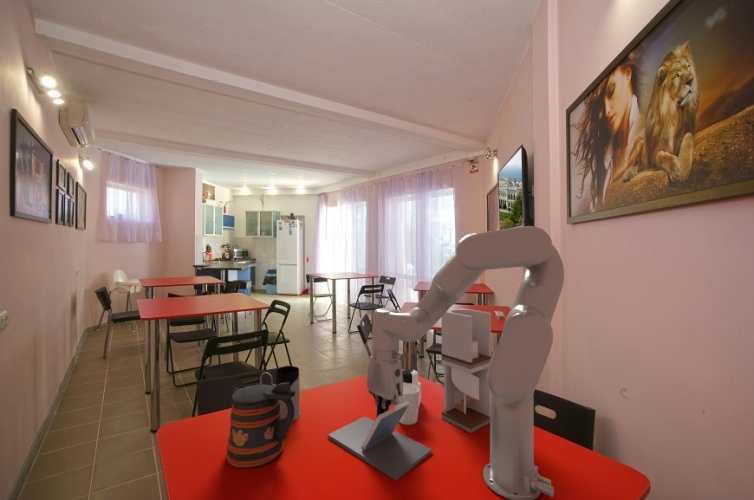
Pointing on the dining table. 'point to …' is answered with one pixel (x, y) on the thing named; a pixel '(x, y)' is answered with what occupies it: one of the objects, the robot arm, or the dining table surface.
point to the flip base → (381, 448)
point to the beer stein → (258, 424)
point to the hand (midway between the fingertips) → (382, 419)
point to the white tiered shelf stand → (466, 367)
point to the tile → (385, 424)
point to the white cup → (412, 410)
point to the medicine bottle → (412, 380)
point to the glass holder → (293, 378)
